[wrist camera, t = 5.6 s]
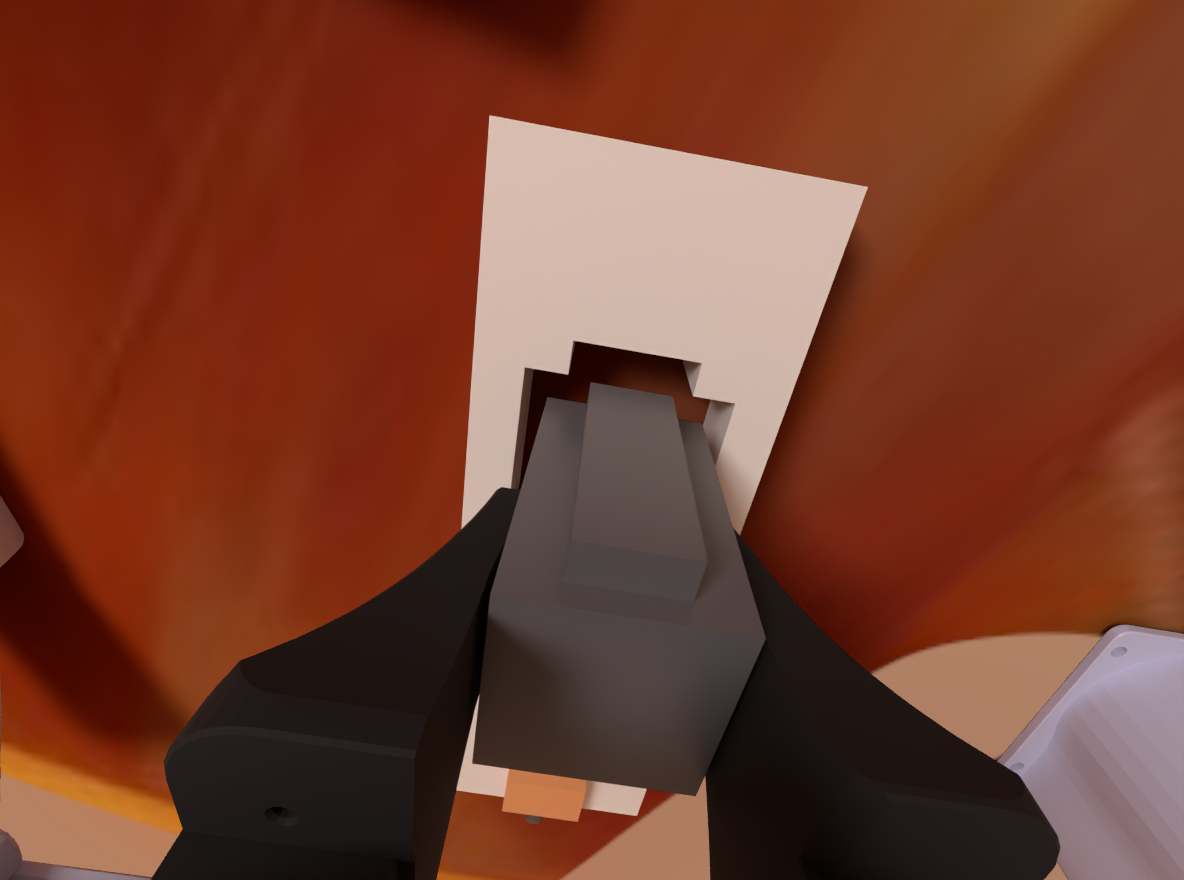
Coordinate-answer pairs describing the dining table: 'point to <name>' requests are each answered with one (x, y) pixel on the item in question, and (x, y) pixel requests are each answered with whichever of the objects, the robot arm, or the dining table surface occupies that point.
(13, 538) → the mobile phone
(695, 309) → the power strip
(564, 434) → the plug
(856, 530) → the dining table surface
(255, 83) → the dining table surface
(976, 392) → the dining table surface
